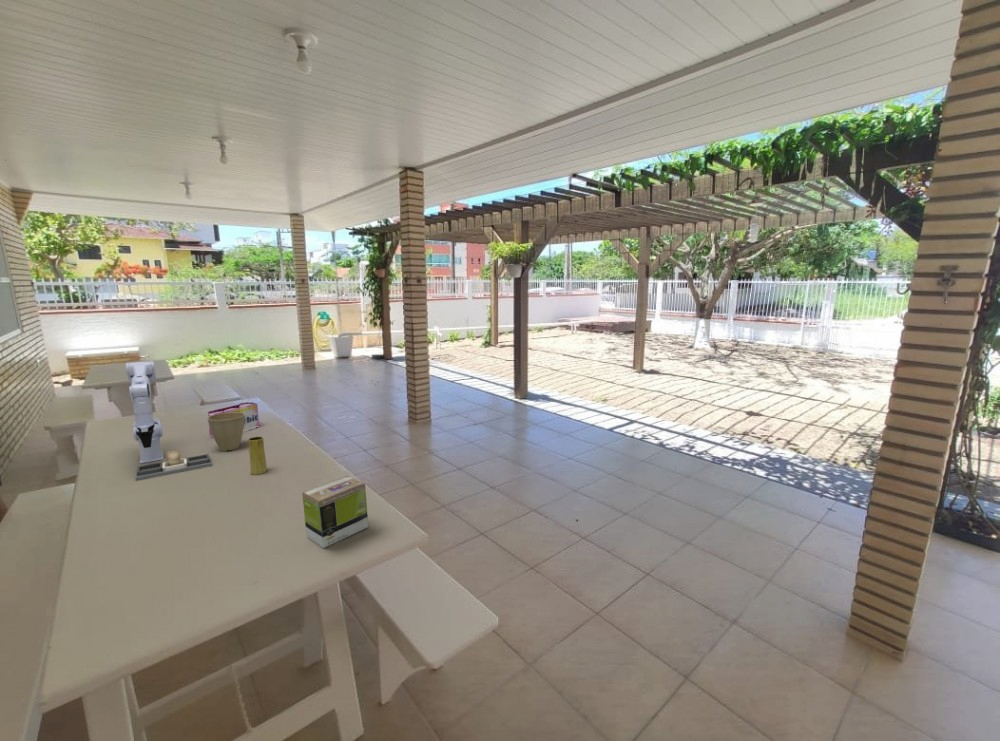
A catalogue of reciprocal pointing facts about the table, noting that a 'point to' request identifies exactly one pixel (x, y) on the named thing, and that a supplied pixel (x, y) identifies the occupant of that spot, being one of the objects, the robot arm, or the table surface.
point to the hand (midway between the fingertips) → (147, 445)
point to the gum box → (246, 408)
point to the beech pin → (173, 458)
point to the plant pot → (227, 429)
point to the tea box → (335, 510)
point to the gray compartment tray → (172, 467)
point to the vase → (257, 455)
